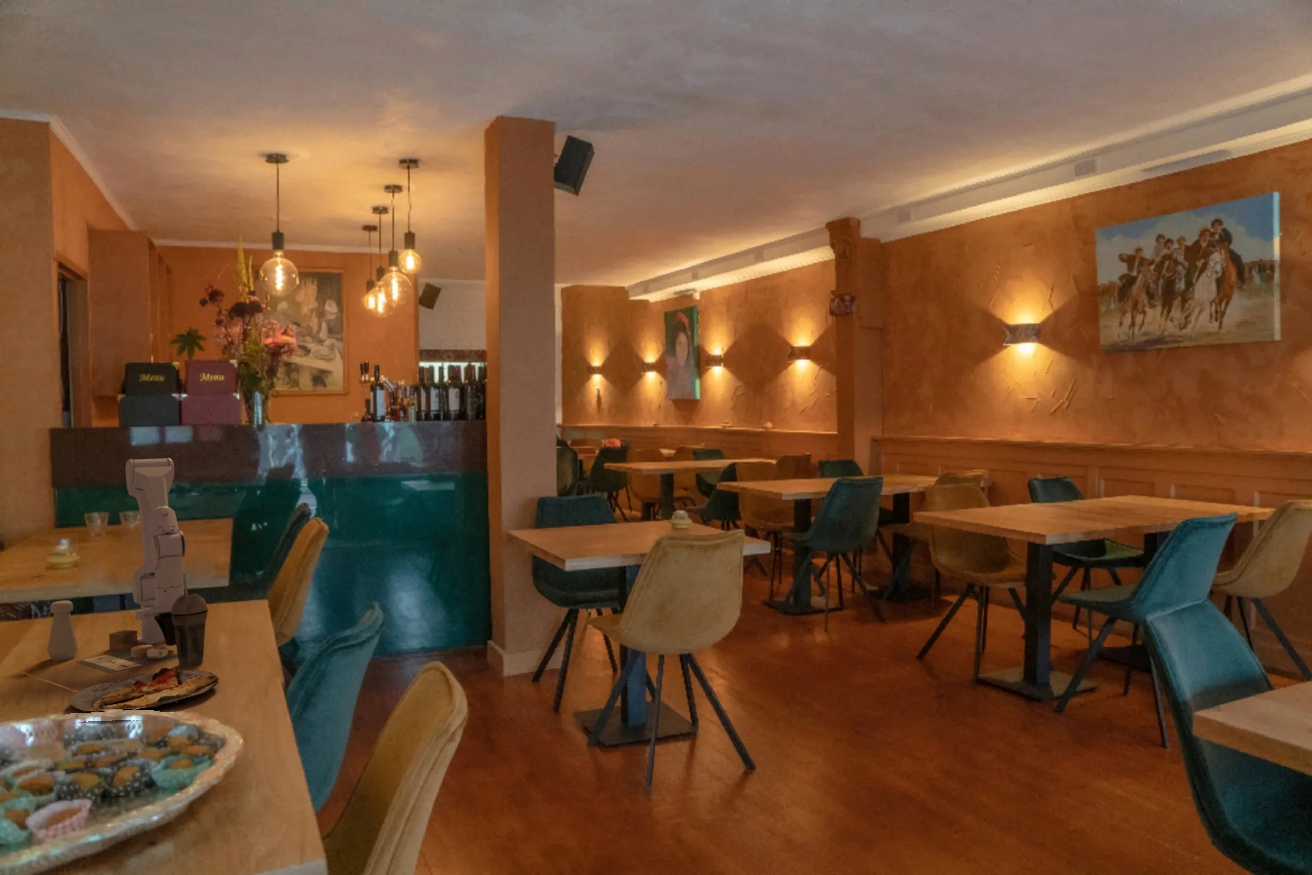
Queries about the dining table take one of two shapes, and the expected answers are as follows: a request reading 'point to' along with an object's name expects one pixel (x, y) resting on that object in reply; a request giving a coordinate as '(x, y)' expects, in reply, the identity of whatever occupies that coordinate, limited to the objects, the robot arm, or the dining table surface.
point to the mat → (117, 661)
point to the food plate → (146, 689)
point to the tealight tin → (157, 654)
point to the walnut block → (123, 640)
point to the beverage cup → (189, 627)
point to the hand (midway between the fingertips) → (171, 644)
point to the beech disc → (140, 651)
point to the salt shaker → (62, 632)
